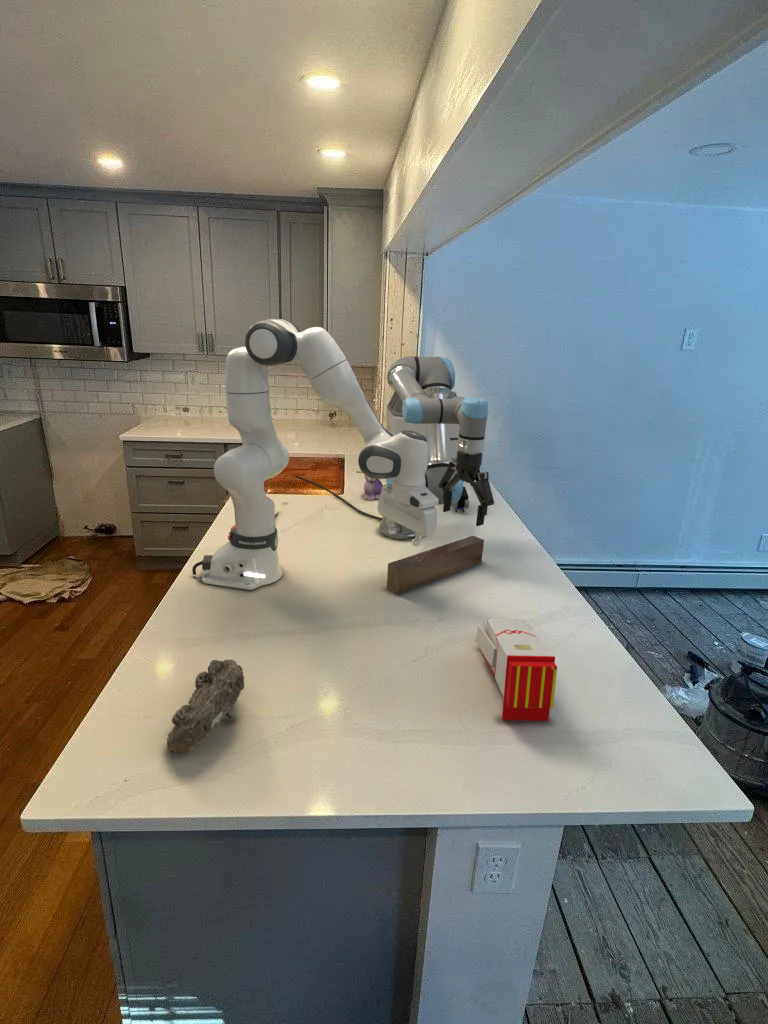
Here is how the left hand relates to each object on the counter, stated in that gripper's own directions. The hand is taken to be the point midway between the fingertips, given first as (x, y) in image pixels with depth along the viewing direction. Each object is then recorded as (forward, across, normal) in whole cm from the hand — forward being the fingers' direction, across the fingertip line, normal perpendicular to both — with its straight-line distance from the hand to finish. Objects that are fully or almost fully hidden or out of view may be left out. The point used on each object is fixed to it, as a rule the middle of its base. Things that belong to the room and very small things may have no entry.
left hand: (403, 539), depth 156 cm
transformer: (+16, -82, +89) cm, 122 cm away
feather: (+17, -70, +2) cm, 72 cm away
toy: (+14, +46, -10) cm, 49 cm away
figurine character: (+15, -36, +66) cm, 77 cm away
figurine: (+16, -66, +46) cm, 83 cm away
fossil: (+15, +18, -65) cm, 69 cm away
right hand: (0, -2, +27) cm, 27 cm away
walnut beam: (+15, +1, +14) cm, 21 cm away
